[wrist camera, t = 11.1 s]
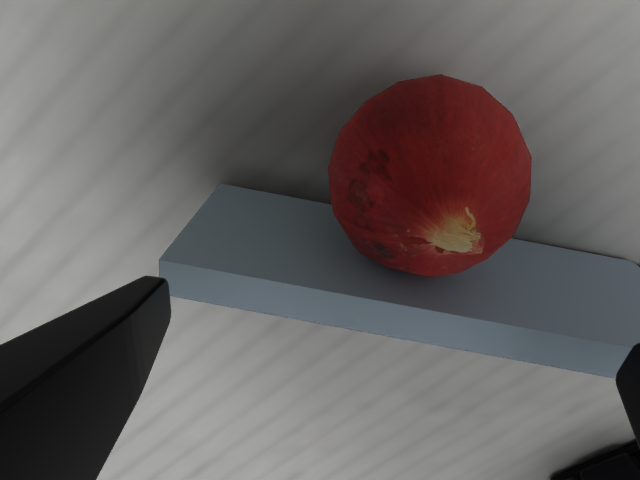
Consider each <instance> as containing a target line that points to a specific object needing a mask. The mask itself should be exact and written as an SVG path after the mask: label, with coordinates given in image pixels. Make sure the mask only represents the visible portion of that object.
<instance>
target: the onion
mask: <svg viewBox="0 0 640 480" xmlns="http://www.w3.org/2000/svg"><path fill="white" fill-rule="evenodd" d="M328 173H329V184H330V194H331V205H332V209H333V213H334V216H335V217H336V219H337V220H338V222H339V224H340V225H341V227H342V228H343V230H344V231H345V233H346V235H347V236H348V238H349V239H350V241H351V242H352V244H353V246H354V247H355V248H356V249H357V250H358V251H359V252H360V253H361V254H363V255H365V256H367V257H368V258H370V259H372V260H374V261H376V262H378V263H380V264H381V265H383V266H385V267H387V268H389V269H393V270H399V271H403V272H408V273H412V274H416V275H420V276H425V277H437V276H443V275H449V274H455V273H461V272H463V271H465V270H467V269H469V268H470V267H472V266H474V265H476V264H478V263H480V262H482V261H484V260H486V259H488V258H489V257H490V256H491V255H493V254H494V253H495V252H496V251H497V250H498V249H499V248H500V247H502V246H503V245H504V244H505V243H506V242H507V241H508V240H509V239H511V238H512V237H513V235H514V233H515V231H516V229H517V227H518V225H519V222H520V220H521V218H522V216H523V214H524V211H525V209H526V207H527V205H528V202H529V199H530V186H531V155H530V153H529V150H528V148H527V146H526V143H525V141H524V139H523V136H522V134H521V132H520V129H519V127H518V125H517V122H516V121H515V119H514V117H513V115H512V113H511V112H510V111H508V110H507V109H506V108H505V107H504V106H503V105H502V104H501V103H499V102H498V101H497V100H496V99H495V98H494V97H493V96H492V95H490V94H489V93H488V92H487V91H486V90H485V89H484V88H483V87H481V86H477V85H474V84H471V83H467V82H464V81H461V80H457V79H454V78H451V77H447V76H444V75H441V74H440V75H434V76H429V77H423V78H417V79H411V80H405V81H400V82H397V83H395V84H394V85H392V86H391V87H389V88H387V89H386V90H384V91H383V92H381V93H379V94H377V95H375V96H374V97H372V98H370V99H368V100H367V101H366V102H365V103H364V104H363V105H362V106H361V107H360V109H359V110H358V111H357V112H356V113H355V114H354V116H353V117H352V118H351V119H350V120H349V121H348V123H347V124H346V125H345V126H344V127H343V128H342V130H341V131H340V132H339V135H338V138H337V141H336V144H335V148H334V151H333V154H332V157H331V160H330V163H329V166H328Z"/></svg>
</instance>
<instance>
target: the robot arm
mask: <svg viewBox="0 0 640 480" xmlns="http://www.w3.org/2000/svg"><path fill="white" fill-rule="evenodd" d="M170 318H171V305H170V293H169V284H168V281H167V280H166V279H165V278H161V277H154V276H144V277H141V278H139V279H137V280H135V281H133V282H131V283H129V284H127V285H124V286H122V287H120V288H118V289H116V290H114V291H112V292H110V293H108V294H106V295H104V296H102V297H99V298H97V299H95V300H93V301H91V302H89V303H87V304H85V305H83V306H81V307H79V308H77V309H74V310H72V311H70V312H68V313H66V314H64V315H62V316H60V317H58V318H56V319H54V320H51V321H49V322H47V323H45V324H43V325H41V326H39V327H37V328H35V329H33V330H31V331H28V332H26V333H24V334H22V335H20V336H18V337H16V338H14V339H12V340H10V341H8V342H5V343H3V344H1V345H0V480H96V479H97V477H98V475H99V473H100V471H101V469H102V467H103V465H104V464H105V462H106V460H107V458H108V456H109V454H110V452H111V450H112V449H113V447H114V445H115V443H116V441H117V439H118V437H119V435H120V433H121V432H122V430H123V428H124V426H125V424H126V422H127V420H128V418H129V417H130V415H131V413H132V411H133V409H134V407H135V405H136V403H137V401H138V399H139V397H140V395H141V393H142V391H143V388H144V386H145V384H146V381H147V379H148V376H149V374H150V371H151V369H152V366H153V364H154V361H155V359H156V356H157V353H158V351H159V348H160V346H161V343H162V341H163V338H164V336H165V333H166V331H167V328H168V326H169V323H170ZM616 385H617V388H618V391H619V394H620V397H621V399H622V402H623V405H624V408H625V410H626V413H627V416H628V419H629V421H630V424H631V427H632V430H633V432H634V435H635V438H636V441H637V443H635V444H632V445H630V446H627V447H625V448H622V449H620V450H618V451H615V452H613V453H610V454H608V455H605V456H603V457H600V458H598V459H596V460H593V461H591V462H588V463H586V464H583V465H581V466H578V467H576V468H574V469H571V470H569V471H566V472H564V473H561V474H559V475H557V476H554V477H553V478H552V479H551V480H640V343H637V344H636V345H634V346H633V347H632V349H631V350H630V352H629V354H628V355H627V357H626V358H625V360H624V362H623V363H622V365H621V366H620V368H619V370H618V371H617V374H616Z"/></svg>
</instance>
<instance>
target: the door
mask: <svg viewBox="0 0 640 480" xmlns="http://www.w3.org/2000/svg"><path fill="white" fill-rule="evenodd" d="M159 277H161V278H165V279H166V280H167V281H168V284H169V293H170V296H173V297H179V298H184V299H189V300H195V301H200V302H206V303H211V304H216V305H222V306H227V307H233V308H238V309H243V310H249V311H254V312H260V313H265V314H270V315H276V316H281V317H287V318H292V319H297V320H303V321H308V322H314V323H319V324H324V325H330V326H335V327H341V328H346V329H351V330H357V331H362V332H368V333H373V334H378V335H384V336H389V337H395V338H400V339H405V340H411V341H416V342H422V343H427V344H432V345H438V346H443V347H449V348H454V349H459V350H465V351H470V352H476V353H481V354H486V355H492V356H497V357H503V358H508V359H513V360H519V361H524V362H530V363H535V364H540V365H546V366H551V367H557V368H562V369H567V370H573V371H578V372H584V373H589V374H594V375H600V376H605V377H611V378H616V374H617V371H618V370H619V368H620V366H621V365H622V363H623V362H624V360H625V358H626V357H627V355H628V354H629V352H630V350H631V349H632V347H633V346H634V345H636V344H637V343H640V267H639V266H637V265H636V264H635V263H634V262H633V261H628V260H623V259H618V258H613V257H607V256H602V255H597V254H591V253H586V252H581V251H575V250H570V249H565V248H560V247H554V246H549V245H544V244H538V243H533V242H528V241H522V240H517V239H512V238H511V239H509V240H508V241H507V242H506V243H505V244H504V245H503V246H502V247H500V248H499V249H498V250H497V251H496V252H495V253H494V254H493V255H491V256H490V257H489V258H488V259H486V260H484V261H482V262H480V263H478V264H476V265H474V266H472V267H470V268H469V269H467V270H465V271H463V272H461V273H455V274H449V275H443V276H437V277H425V276H420V275H416V274H412V273H408V272H403V271H399V270H393V269H389V268H387V267H385V266H383V265H381V264H380V263H378V262H376V261H374V260H372V259H370V258H368V257H367V256H365V255H363V254H361V253H360V252H359V251H358V250H357V249H356V248H355V247H354V246H353V244H352V242H351V241H350V239H349V238H348V236H347V235H346V233H345V231H344V230H343V228H342V227H341V225H340V224H339V222H338V220H337V219H336V217H335V216H334V213H333V209H332V205H331V204H326V203H321V202H316V201H310V200H305V199H300V198H294V197H289V196H284V195H278V194H273V193H268V192H263V191H257V190H252V189H247V188H241V187H236V186H231V185H225V184H219V185H218V187H217V188H216V189H215V190H214V192H213V193H212V194H211V195H210V197H209V198H208V199H207V200H206V202H205V203H204V204H203V205H202V207H201V208H200V209H199V210H198V212H197V213H196V214H195V215H194V217H193V218H192V219H191V220H190V222H189V223H188V224H187V225H186V227H185V228H184V229H183V230H182V232H181V233H180V234H179V235H178V237H177V238H176V239H175V240H174V242H173V243H172V244H171V245H170V247H169V248H168V249H167V250H166V252H165V253H164V254H163V255H162V257H161V258H160V259H159Z"/></svg>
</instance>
